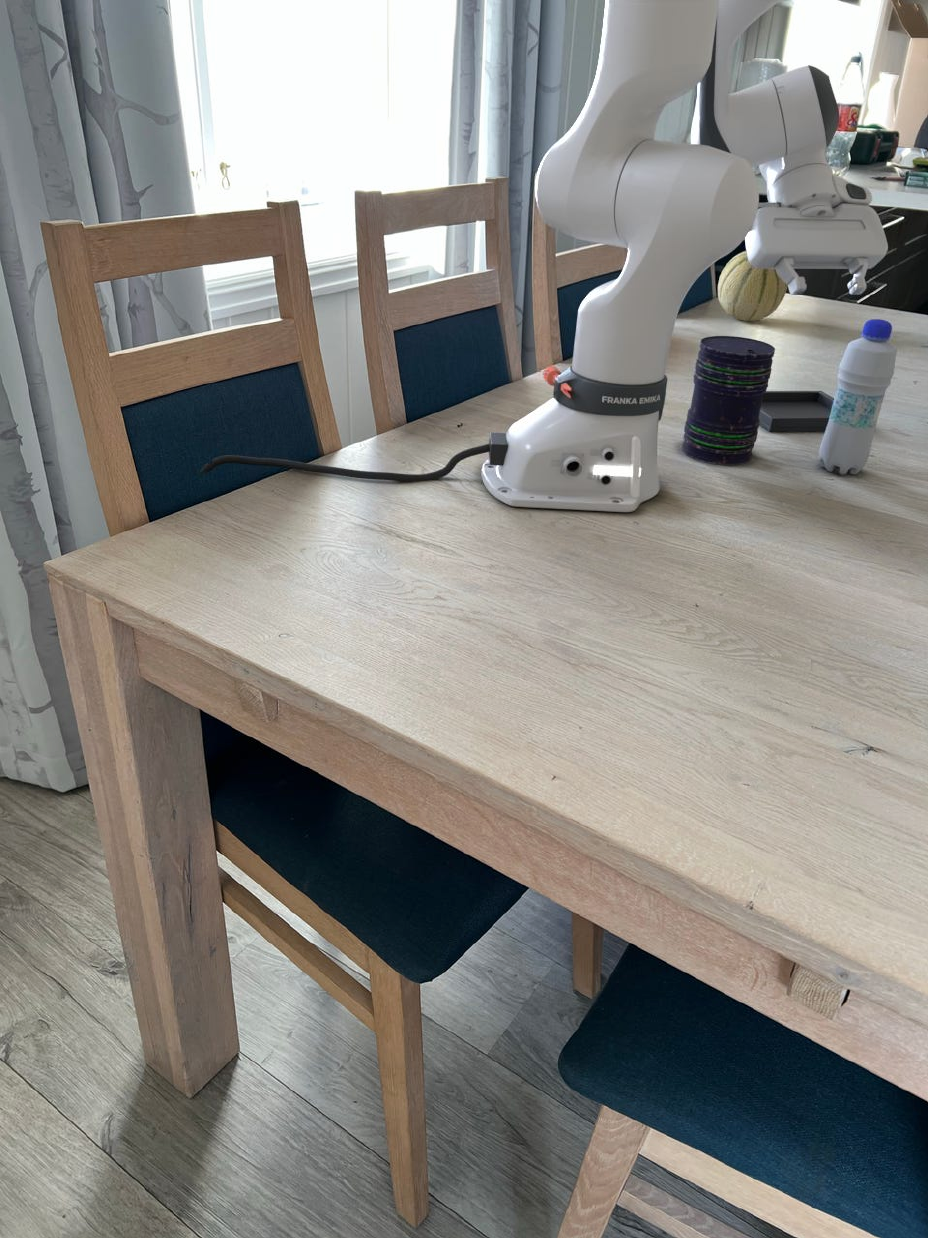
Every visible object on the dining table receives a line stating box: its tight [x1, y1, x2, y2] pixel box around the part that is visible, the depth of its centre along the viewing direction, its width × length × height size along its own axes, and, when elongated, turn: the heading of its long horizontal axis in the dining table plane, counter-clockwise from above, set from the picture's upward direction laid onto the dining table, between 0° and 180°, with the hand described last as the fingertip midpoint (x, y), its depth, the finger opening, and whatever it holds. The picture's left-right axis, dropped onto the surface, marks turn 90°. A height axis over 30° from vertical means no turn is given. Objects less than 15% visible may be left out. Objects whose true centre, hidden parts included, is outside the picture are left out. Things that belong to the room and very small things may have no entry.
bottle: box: [818, 318, 898, 476], centre depth 124 cm, size 7×7×20 cm
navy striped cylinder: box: [681, 335, 776, 466], centre depth 128 cm, size 10×10×15 cm
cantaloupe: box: [717, 250, 788, 322], centre depth 204 cm, size 15×15×15 cm
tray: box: [759, 390, 835, 433], centre depth 147 cm, size 16×14×2 cm
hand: (829, 292), depth 127 cm, fingers open, 8 cm apart
